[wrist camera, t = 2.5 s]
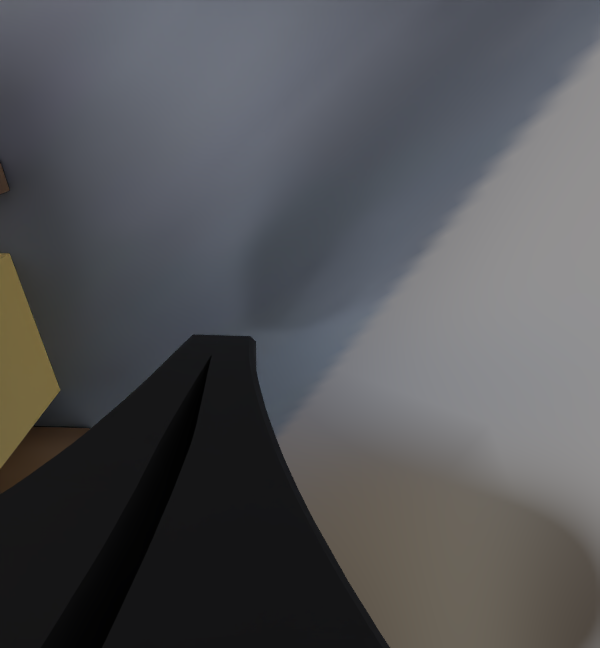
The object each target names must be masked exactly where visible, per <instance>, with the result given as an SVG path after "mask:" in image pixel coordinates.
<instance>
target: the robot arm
mask: <svg viewBox="0 0 600 648" xmlns="http://www.w3.org/2000/svg"><path fill="white" fill-rule="evenodd" d="M0 648H390V647H389V646H388V644H387V643H386V641H385V639H384V638H383V636H382V635H381V633H380V632H379V630H378V629H377V627H376V625H375V624H374V622H373V621H372V619H371V617H370V616H369V614H368V612H367V611H366V609H365V608H364V606H363V604H362V603H361V601H360V600H359V598H358V597H357V595H356V593H355V592H354V590H353V588H352V587H351V585H350V584H349V582H348V580H347V578H346V577H345V575H344V573H343V571H342V569H341V568H340V566H339V564H338V562H337V561H336V559H335V557H334V555H333V554H332V552H331V550H330V548H329V546H328V545H327V543H326V541H325V539H324V538H323V536H322V534H321V532H320V530H319V529H318V527H317V525H316V523H315V522H314V520H313V518H312V516H311V514H310V512H309V510H308V508H307V506H306V504H305V502H304V500H303V498H302V496H301V494H300V492H299V490H298V488H297V486H296V484H295V482H294V480H293V477H292V476H291V473H290V471H289V468H288V466H287V464H286V461H285V459H284V457H283V454H282V452H281V450H280V447H279V444H278V442H277V439H276V437H275V434H274V431H273V428H272V426H271V423H270V420H269V417H268V414H267V411H266V408H265V404H264V401H263V397H262V393H261V390H260V386H259V382H258V377H257V371H256V341H255V340H254V339H253V338H252V337H251V336H221V335H192V336H191V337H190V338H189V339H188V340H187V341H186V342H185V343H184V344H183V345H182V346H181V347H180V348H179V349H178V350H176V351H175V352H174V353H173V354H172V355H171V356H170V357H169V358H168V359H167V360H166V361H165V362H164V363H163V364H162V365H161V366H160V367H159V368H158V369H157V370H156V371H155V372H154V373H153V374H152V375H151V376H150V377H149V378H148V379H147V380H146V381H144V382H143V383H142V384H141V385H140V386H139V387H138V388H137V389H136V390H135V391H134V392H133V393H131V394H130V395H129V396H128V397H127V398H126V399H125V400H124V401H123V402H122V403H120V404H119V405H118V406H117V407H116V408H115V409H113V410H112V411H111V412H110V413H109V414H107V415H106V416H105V417H104V418H103V419H101V420H100V421H99V422H98V423H97V424H96V425H94V426H93V427H92V428H91V429H90V430H88V431H87V432H86V433H85V434H84V435H82V436H81V437H80V438H78V439H77V440H76V441H75V442H73V443H72V444H71V445H69V446H68V447H67V448H65V449H64V450H63V451H62V452H60V453H59V454H57V455H56V456H55V457H53V458H52V459H51V460H49V461H48V462H46V463H45V464H44V465H42V466H41V467H39V468H38V469H37V470H35V471H34V472H32V473H31V474H30V475H28V476H27V477H25V478H24V479H23V480H21V481H20V482H18V483H17V484H15V485H14V486H12V487H11V488H9V489H8V490H6V491H5V492H3V493H1V494H0Z"/></svg>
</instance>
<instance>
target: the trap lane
mask: <svg viewBox="0 0 600 648" xmlns="http://www.w3.org/2000/svg"><path fill="white" fill-rule="evenodd" d="M7 191H10V190H9V187H8V184H7V181H6V178H5V175H4V172H3V169H2V166H1V163H0V194H2V193H5V192H7ZM88 430H90V428H62V427H32V428H31V429H30V431H29V432H28V433H27V435H26V436H25V437H24V439H23V440H22V441H21V443H20V444H19V445H18V446H17V448H16V449H15V450H14V452H13V453H12V454H11V456H10V457H9V458H8V460H7V461H6V462H5V463H4V465H3V466H2V467H1V469H0V494H1V493H3V492H5V491H6V490H8V489H9V488H11V487H12V486H14V485H15V484H17V483H18V482H20V481H21V480H23V479H24V478H25V477H27V476H28V475H30V474H31V473H32V472H34V471H35V470H37V469H38V468H39V467H41V466H42V465H44V464H45V463H46V462H48V461H49V460H51V459H52V458H53V457H55V456H56V455H57V454H59V453H60V452H62V451H63V450H64V449H65V448H67V447H68V446H69V445H71V444H72V443H73V442H75V441H76V440H77V439H78V438H80V437H81V436H82V435H84V434H85V433H86V432H87V431H88Z"/></svg>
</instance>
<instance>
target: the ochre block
mask: <svg viewBox="0 0 600 648" xmlns="http://www.w3.org/2000/svg"><path fill="white" fill-rule="evenodd" d="M59 391H60V388H59V385H58V383H57V380H56V377H55V374H54V372H53V369H52V366H51V364H50V361H49V358H48V356H47V353H46V350H45V348H44V345H43V342H42V340H41V337H40V334H39V331H38V329H37V326H36V323H35V321H34V318H33V315H32V313H31V310H30V307H29V305H28V302H27V299H26V297H25V294H24V291H23V288H22V286H21V283H20V280H19V278H18V275H17V272H16V270H15V267H14V264H13V262H12V259H11V256H10V254H8V253H0V469H1V467H2V466H3V465H4V463H5V462H6V461H7V460H8V458H9V457H10V456H11V454H12V453H13V452H14V450H15V449H16V448H17V446H18V445H19V444H20V443H21V441H22V440H23V439H24V437H25V436H26V435H27V433H28V432H29V431H30V429H31V428H32V427H33V425H34V424H35V423H36V422H37V420H38V419H39V418H40V416H41V415H42V414H43V412H44V411H45V410H46V408H47V407H48V406H49V405H50V403H51V402H52V401H53V399H54V398H55V397H56V395H57V394H58V393H59Z"/></svg>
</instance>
